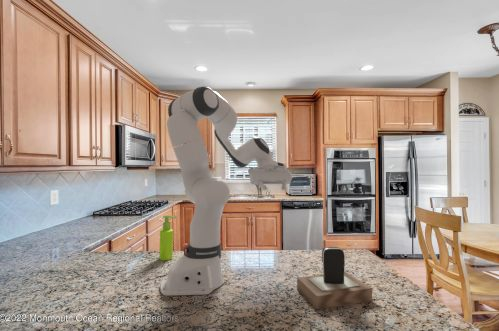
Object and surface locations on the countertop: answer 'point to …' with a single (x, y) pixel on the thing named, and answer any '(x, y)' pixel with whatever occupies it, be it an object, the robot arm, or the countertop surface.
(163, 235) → the soap dispenser
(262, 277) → the countertop surface
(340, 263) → the battery charger
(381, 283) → the countertop surface
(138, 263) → the countertop surface
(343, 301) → the brown flat rectangular block
